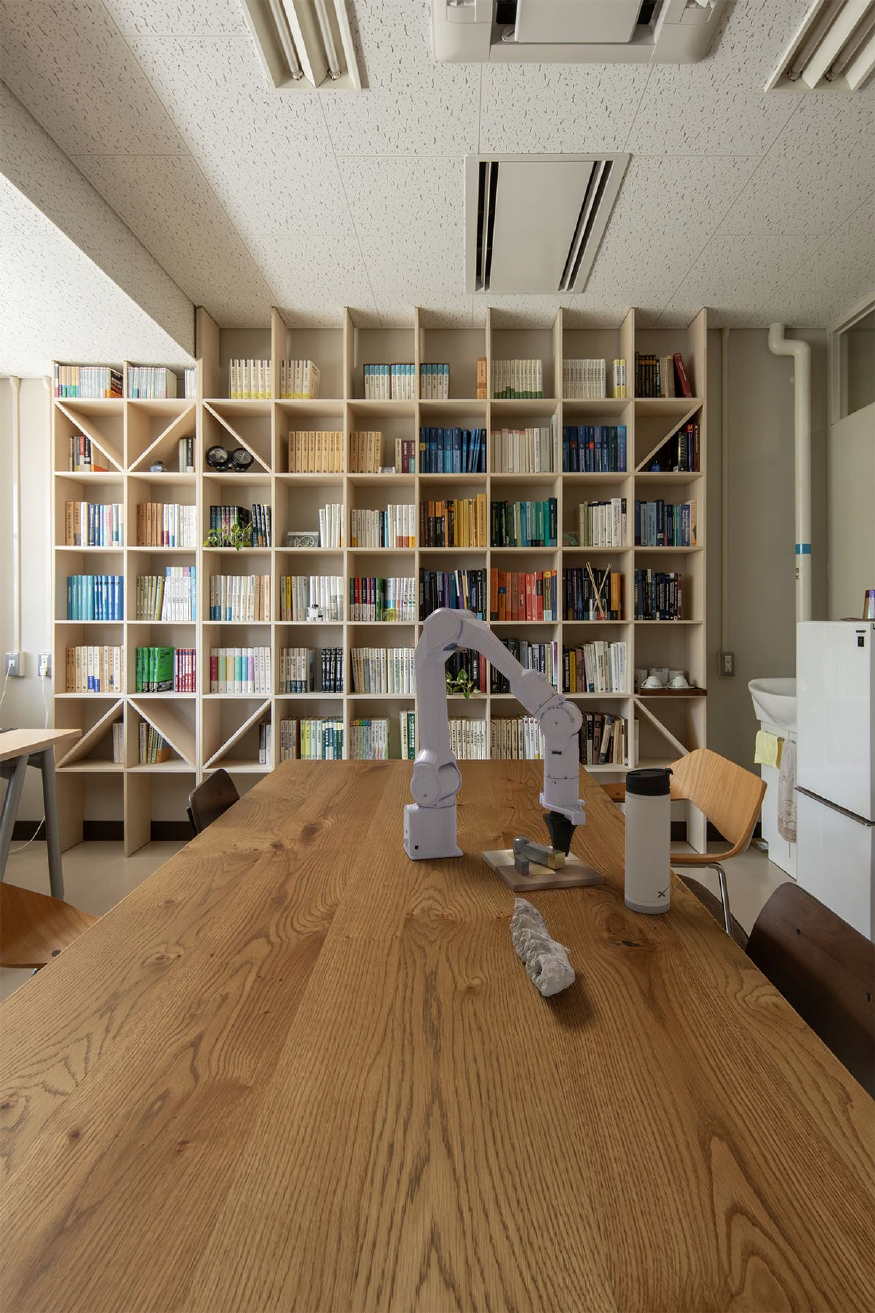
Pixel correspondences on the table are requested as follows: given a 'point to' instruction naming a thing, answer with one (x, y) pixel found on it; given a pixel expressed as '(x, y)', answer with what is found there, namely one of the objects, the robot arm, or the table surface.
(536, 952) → the fossil
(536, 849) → the latch bar
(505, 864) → the door board
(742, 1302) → the table surface
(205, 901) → the table surface
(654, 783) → the travel mug
